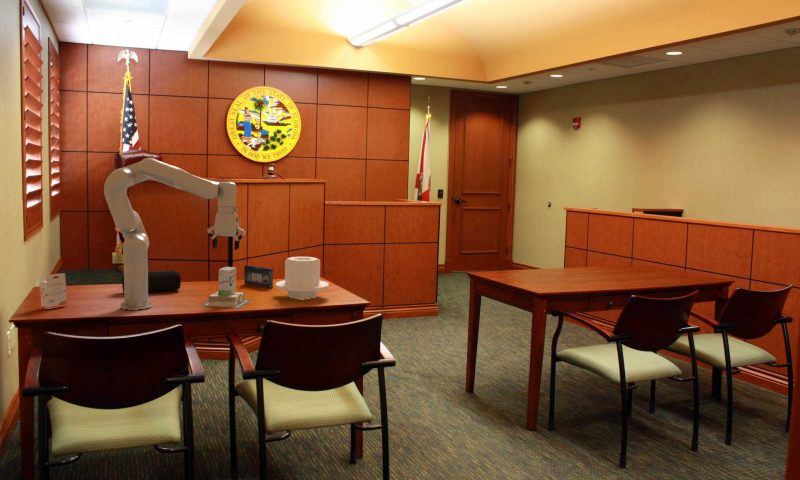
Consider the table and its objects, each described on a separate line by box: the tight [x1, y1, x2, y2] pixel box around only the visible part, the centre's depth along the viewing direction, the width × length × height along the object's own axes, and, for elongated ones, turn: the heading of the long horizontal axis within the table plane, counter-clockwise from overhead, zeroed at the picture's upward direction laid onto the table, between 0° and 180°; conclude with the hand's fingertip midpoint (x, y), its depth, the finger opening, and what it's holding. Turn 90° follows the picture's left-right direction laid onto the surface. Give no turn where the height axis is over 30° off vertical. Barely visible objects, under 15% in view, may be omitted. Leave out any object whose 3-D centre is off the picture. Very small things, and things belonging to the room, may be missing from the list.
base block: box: [208, 291, 245, 307], centre depth 301 cm, size 12×12×4 cm
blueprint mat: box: [200, 299, 253, 309], centre depth 301 cm, size 18×18×1 cm
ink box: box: [217, 266, 237, 296], centre depth 300 cm, size 9×5×12 cm, turn 171°
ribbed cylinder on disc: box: [275, 256, 330, 301], centre depth 322 cm, size 25×25×19 cm
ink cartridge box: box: [40, 272, 67, 307], centre depth 285 cm, size 9×5×15 cm, turn 148°
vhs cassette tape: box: [243, 264, 274, 290], centre depth 348 cm, size 18×3×10 cm, turn 55°
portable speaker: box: [121, 269, 182, 293], centre depth 325 cm, size 26×10×10 cm, turn 119°
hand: (225, 248), depth 298 cm, fingers open, 9 cm apart
